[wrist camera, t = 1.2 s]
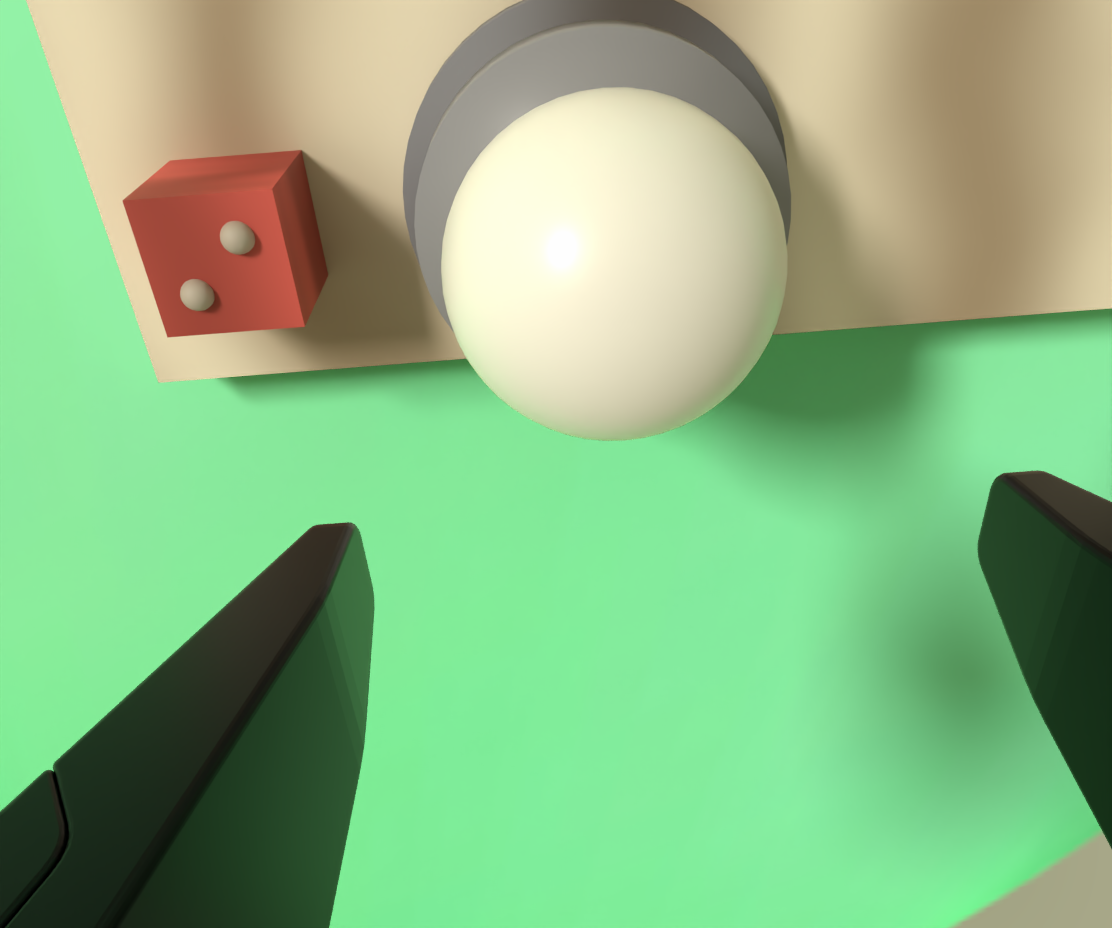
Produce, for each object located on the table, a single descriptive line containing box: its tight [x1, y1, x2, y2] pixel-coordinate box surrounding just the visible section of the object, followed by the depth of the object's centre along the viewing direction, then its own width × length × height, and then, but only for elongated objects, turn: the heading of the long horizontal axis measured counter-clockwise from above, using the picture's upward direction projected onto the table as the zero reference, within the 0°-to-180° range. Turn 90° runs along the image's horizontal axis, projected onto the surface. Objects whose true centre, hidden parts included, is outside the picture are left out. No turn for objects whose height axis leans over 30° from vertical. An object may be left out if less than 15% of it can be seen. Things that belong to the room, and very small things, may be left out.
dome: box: [414, 20, 791, 441], centre depth 15 cm, size 7×7×6 cm
